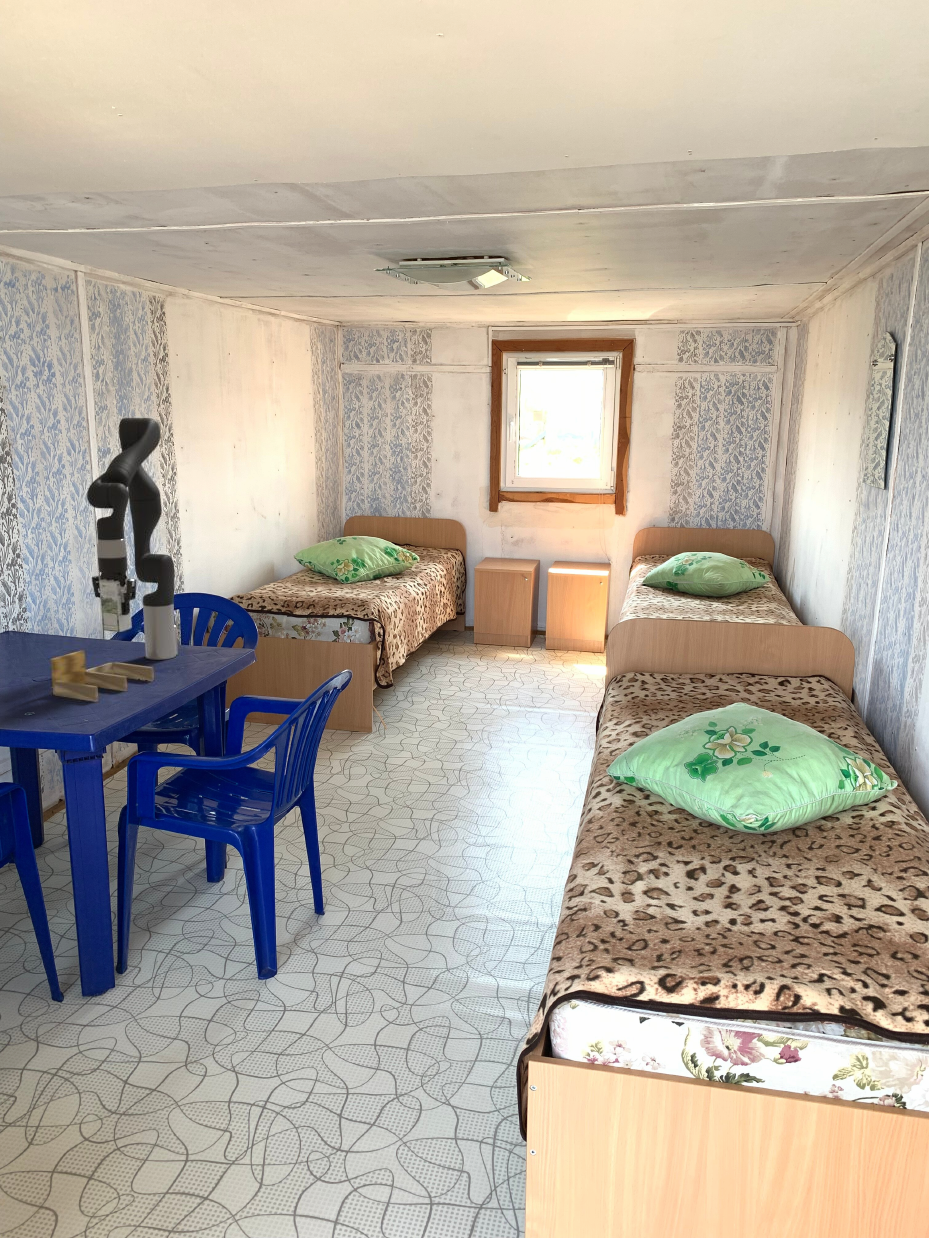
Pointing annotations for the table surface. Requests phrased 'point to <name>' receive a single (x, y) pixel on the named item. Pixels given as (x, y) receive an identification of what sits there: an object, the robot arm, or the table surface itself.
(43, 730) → the table surface
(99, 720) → the table surface
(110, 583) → the syrup box
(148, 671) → the wooden rack
